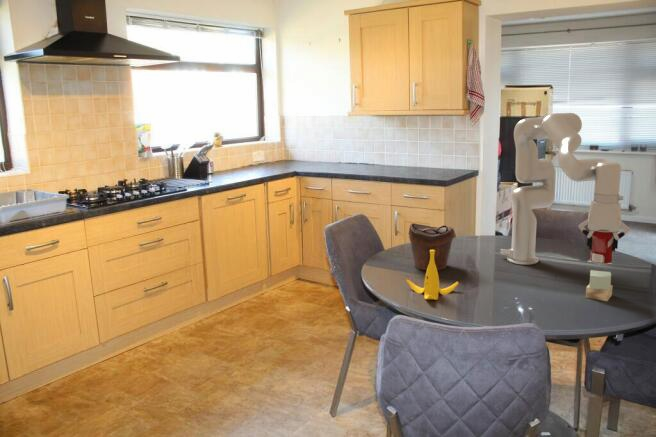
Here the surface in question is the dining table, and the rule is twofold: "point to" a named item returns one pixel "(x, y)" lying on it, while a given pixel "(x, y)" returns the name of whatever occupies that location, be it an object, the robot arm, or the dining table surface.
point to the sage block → (600, 280)
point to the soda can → (602, 247)
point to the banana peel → (431, 282)
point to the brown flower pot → (430, 244)
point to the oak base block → (599, 293)
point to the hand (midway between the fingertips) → (601, 249)
